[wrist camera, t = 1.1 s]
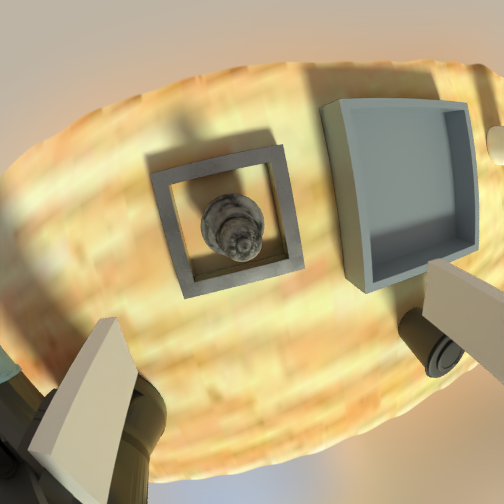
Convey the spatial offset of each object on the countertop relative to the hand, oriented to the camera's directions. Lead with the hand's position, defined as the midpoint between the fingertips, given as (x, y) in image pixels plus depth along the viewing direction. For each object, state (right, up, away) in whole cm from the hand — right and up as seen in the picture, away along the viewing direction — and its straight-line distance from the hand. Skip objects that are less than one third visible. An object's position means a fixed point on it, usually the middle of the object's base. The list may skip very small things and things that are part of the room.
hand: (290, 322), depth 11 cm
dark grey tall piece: (-4, +6, +20) cm, 21 cm away
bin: (+18, +11, +22) cm, 30 cm away
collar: (-4, +6, +19) cm, 21 cm away
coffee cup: (+23, -8, +28) cm, 37 cm away
